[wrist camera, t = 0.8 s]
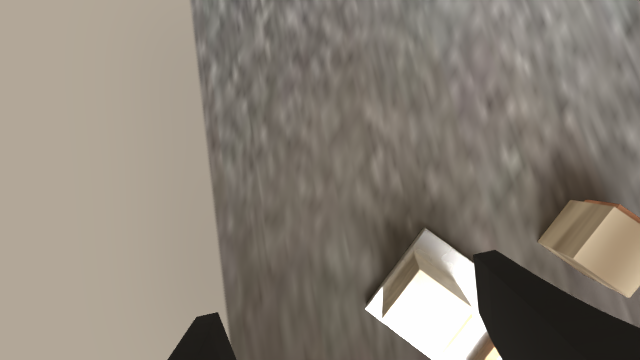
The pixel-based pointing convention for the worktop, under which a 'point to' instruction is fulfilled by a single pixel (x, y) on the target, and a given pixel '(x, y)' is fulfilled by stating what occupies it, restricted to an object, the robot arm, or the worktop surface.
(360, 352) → the worktop surface
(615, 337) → the robot arm
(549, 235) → the block
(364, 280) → the worktop surface
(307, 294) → the worktop surface
